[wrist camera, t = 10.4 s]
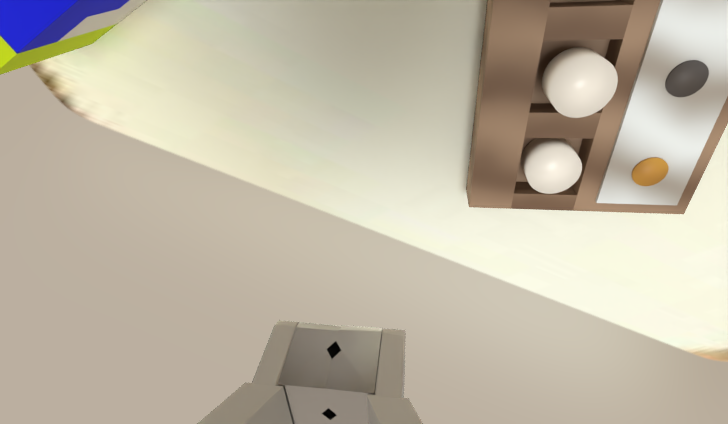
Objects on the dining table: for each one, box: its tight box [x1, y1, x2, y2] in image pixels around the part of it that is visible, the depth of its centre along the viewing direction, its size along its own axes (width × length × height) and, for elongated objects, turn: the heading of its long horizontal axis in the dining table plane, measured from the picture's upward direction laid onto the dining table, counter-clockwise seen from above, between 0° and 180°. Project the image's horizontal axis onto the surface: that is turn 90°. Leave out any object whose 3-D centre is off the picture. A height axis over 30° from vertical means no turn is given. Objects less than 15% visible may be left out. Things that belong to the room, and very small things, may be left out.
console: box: [466, 0, 728, 214], centre depth 29 cm, size 22×17×4 cm
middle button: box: [542, 47, 618, 118], centre depth 27 cm, size 4×4×2 cm
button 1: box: [521, 138, 582, 194], centre depth 33 cm, size 4×4×2 cm
